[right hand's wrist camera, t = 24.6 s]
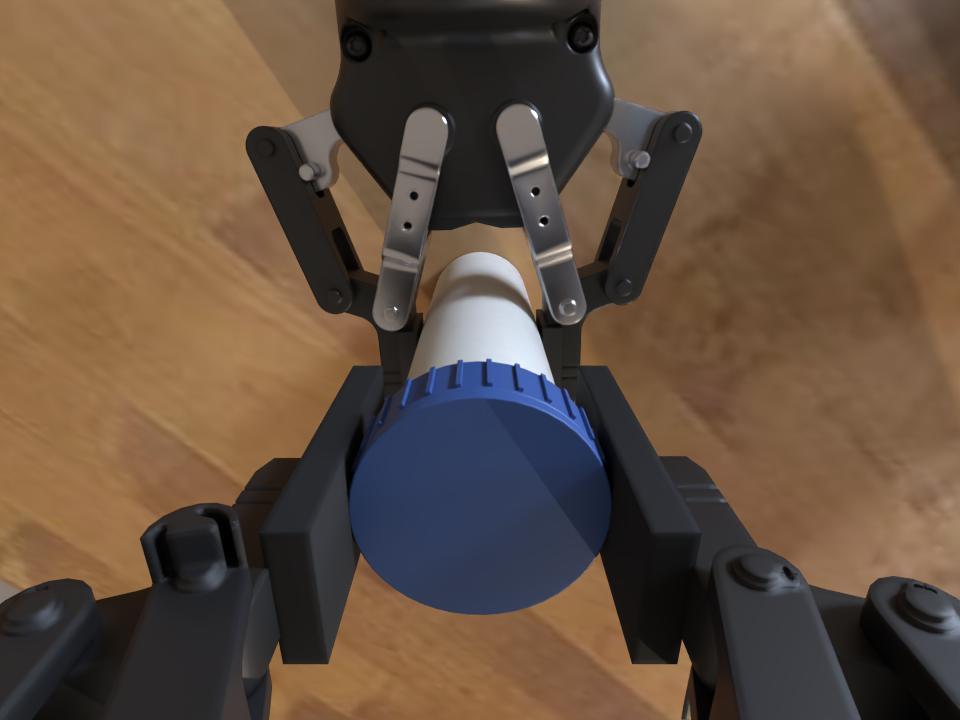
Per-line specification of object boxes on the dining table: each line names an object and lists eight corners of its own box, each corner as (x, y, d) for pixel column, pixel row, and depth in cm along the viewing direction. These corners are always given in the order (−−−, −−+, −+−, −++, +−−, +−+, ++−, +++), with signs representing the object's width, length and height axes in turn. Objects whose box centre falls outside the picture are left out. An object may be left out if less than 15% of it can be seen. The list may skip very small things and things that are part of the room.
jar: (461, 234, 24) (437, 358, 10) (542, 279, 25) (621, 451, 11) (419, 313, 26) (346, 518, 12) (497, 354, 27) (516, 591, 13)
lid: (450, 308, 11) (446, 337, 9) (647, 444, 12) (673, 491, 10) (318, 487, 12) (294, 540, 11) (503, 592, 14) (506, 654, 12)
